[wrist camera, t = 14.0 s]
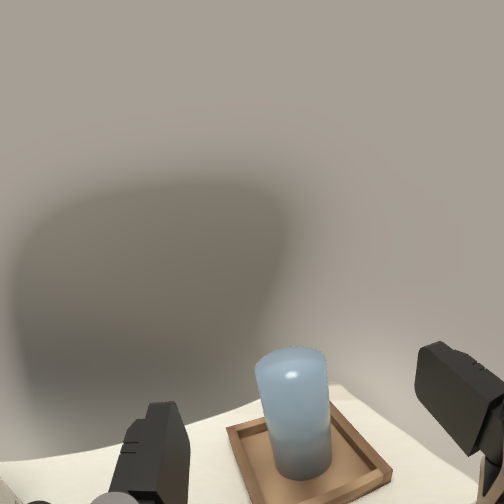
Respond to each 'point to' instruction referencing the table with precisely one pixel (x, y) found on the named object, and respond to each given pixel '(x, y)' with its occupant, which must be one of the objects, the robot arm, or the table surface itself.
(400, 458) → the table surface
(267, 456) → the tray
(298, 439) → the pale blue cylinder
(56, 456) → the table surface
